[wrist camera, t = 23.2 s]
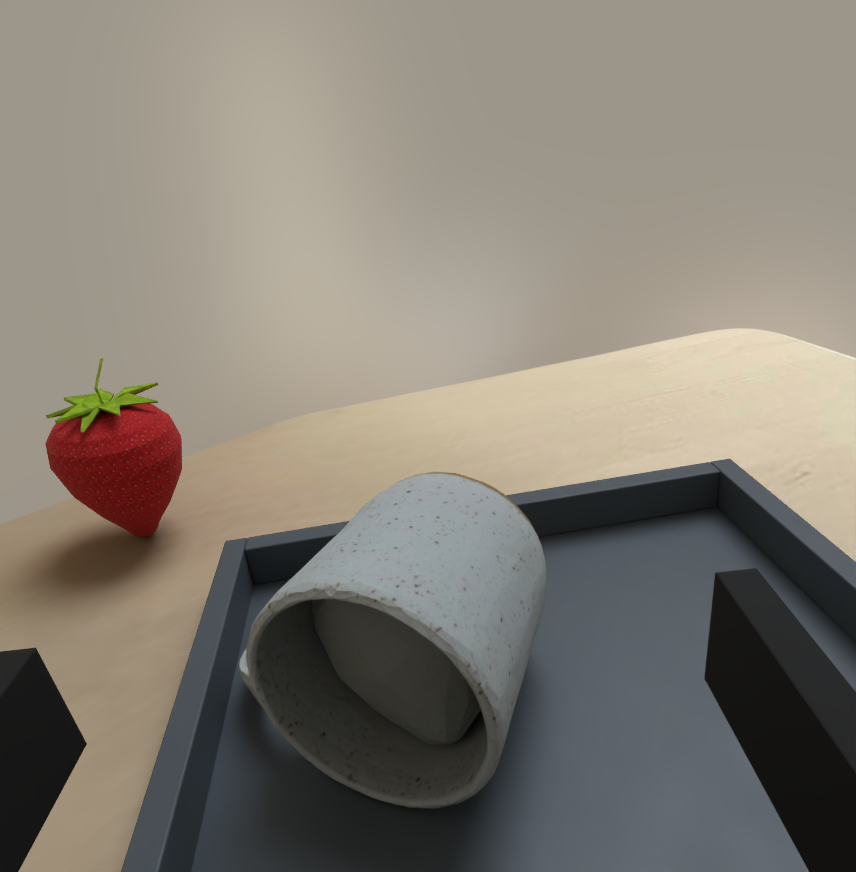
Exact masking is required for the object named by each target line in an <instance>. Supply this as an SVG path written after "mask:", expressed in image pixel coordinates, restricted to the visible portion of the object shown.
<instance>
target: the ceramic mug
mask: <svg viewBox="0 0 856 872" xmlns="http://www.w3.org/2000/svg"><path fill="white" fill-rule="evenodd" d="M545 587H546V561H545V557H544V553H543V549H542V545H541V543H540V540H539V537H538V535H537V533H536V532H535V530H534V528H533V526H532V524H531V523H530V521H529V520H528V518H527V517H526V516H525V515H524V514H523V512H522V511H521V510H520V509H519V508H518V507H517V506H516V505H515V504H514V503H513V502H512V501H511V500H510V499H509V498H508V497H507V496H505V495H504V494H503V493H501V492H500V491H498V490H497V489H495V488H494V487H492V486H490V485H488V484H486V483H484V482H481V481H478V480H475V479H472V478H470V477H467V476H464V475H460V474H456V473H443V472H431V473H425V474H419V475H415V476H412V477H409V478H407V479H404V480H401V481H399V482H398V483H396V484H394V485H393V486H391V487H389V488H388V489H386V490H384V491H382V492H381V493H379V494H378V495H377V496H376V497H374V498H373V499H372V500H371V501H369V502H368V503H367V504H366V505H365V506H363V507H362V508H361V509H360V510H359V511H358V513H357V514H356V515H355V516H354V517H353V518H352V519H351V520H350V521H349V523H348V524H347V525H346V526H345V527H344V528H343V529H342V530H341V531H340V532H339V533H338V534H337V535H336V536H335V537H334V538H333V539H332V540H331V541H330V542H329V543H328V544H327V545H326V546H325V547H323V548H322V549H321V550H320V551H319V552H318V553H317V554H316V555H315V556H314V557H313V558H312V559H311V560H310V561H309V562H308V563H307V564H306V565H305V566H304V567H303V568H302V569H301V570H300V571H299V572H298V573H296V574H295V575H294V576H293V577H292V578H291V579H290V580H289V581H288V582H287V583H286V584H285V585H284V586H283V587H282V588H281V589H280V590H279V591H278V592H276V593H275V595H274V596H273V597H272V598H271V600H270V601H269V602H268V603H267V604H266V606H265V607H264V608H263V609H262V611H261V612H260V613H259V614H258V616H257V617H256V619H255V621H254V622H253V624H252V627H251V631H250V635H249V639H248V643H247V648H246V650H245V651H244V653H243V655H242V657H241V659H240V661H239V669H240V673H241V677H242V680H243V681H244V682H245V684H246V685H247V687H248V688H249V690H250V691H251V693H252V694H253V696H254V697H255V699H256V700H257V701H258V703H259V704H260V705H261V706H262V707H263V709H264V710H265V712H266V714H267V715H268V717H269V718H270V720H271V722H272V723H273V725H274V726H275V727H276V728H277V729H278V731H279V732H280V733H281V734H282V735H283V737H284V738H285V739H286V740H287V741H288V742H289V743H290V744H291V745H292V746H293V747H294V748H296V750H297V751H298V752H299V753H300V754H301V755H302V756H303V757H304V758H306V759H307V760H308V761H310V762H311V763H312V764H313V765H314V766H316V767H317V768H318V769H319V770H320V771H322V772H323V773H325V774H326V775H328V776H329V777H331V778H332V779H334V780H336V781H338V782H340V783H341V784H343V785H345V786H347V787H349V788H351V789H353V790H355V791H358V792H360V793H362V794H365V795H367V796H369V797H372V798H374V799H377V800H380V801H384V802H387V803H391V804H394V805H401V806H406V807H409V808H433V809H437V808H441V807H445V806H450V805H454V804H459V803H461V802H463V801H465V800H467V799H468V798H470V797H472V796H474V795H475V794H476V793H478V792H479V791H480V790H481V789H482V788H483V787H484V786H485V785H486V784H487V782H488V781H489V780H490V778H491V777H492V776H493V774H494V773H495V770H496V768H497V765H498V763H499V760H500V758H501V754H502V751H503V747H504V744H505V740H506V737H507V733H508V729H509V726H510V722H511V718H512V714H513V711H514V708H515V704H516V701H517V698H518V695H519V691H520V688H521V685H522V682H523V678H524V674H525V670H526V666H527V662H528V658H529V654H530V650H531V647H532V643H533V640H534V637H535V634H536V632H537V629H538V626H539V623H540V619H541V615H542V611H543V606H544V601H545Z"/></svg>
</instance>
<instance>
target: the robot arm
mask: <svg viewBox="0 0 856 872" xmlns="http://www.w3.org/2000/svg"><path fill="white" fill-rule="evenodd" d="M704 679H705V681H706V683H707V684H708V686H709V688H710V690H711V692H712V694H713V696H714V697H715V699H716V701H717V703H718V705H719V707H720V708H721V710H722V712H723V714H724V716H725V718H726V720H727V721H728V723H729V725H730V727H731V729H732V731H733V732H734V734H735V736H736V738H737V740H738V742H739V743H740V745H741V747H742V749H743V751H744V753H745V755H746V756H747V758H748V760H749V762H750V764H751V766H752V767H753V769H754V771H755V773H756V775H757V777H758V779H759V780H760V782H761V784H762V786H763V788H764V790H765V791H766V793H767V795H768V797H769V799H770V801H771V802H772V804H773V806H774V808H775V810H776V812H777V814H778V815H779V817H780V819H781V821H782V823H783V825H784V826H785V828H786V830H787V832H788V834H789V836H790V838H791V839H792V841H793V843H794V845H795V847H796V849H797V850H798V852H799V854H800V856H801V858H802V860H803V862H804V863H805V865H806V867H807V869H808V871H809V872H856V692H855V690H854V689H853V688H852V687H851V685H850V684H849V683H848V682H847V680H846V679H845V678H844V677H843V675H842V674H841V673H840V672H839V670H838V669H837V668H836V667H835V665H834V664H833V663H832V662H831V660H830V659H829V658H828V657H827V655H826V654H825V653H824V652H823V651H822V649H821V648H820V647H819V646H818V644H817V643H816V642H815V641H814V639H813V638H812V637H811V636H810V634H809V633H808V632H807V631H806V629H805V628H804V627H803V626H802V624H801V623H800V622H799V621H798V619H797V618H796V617H795V616H794V614H793V613H792V612H791V611H790V609H789V608H788V607H787V606H786V604H785V603H784V602H783V601H782V599H781V598H780V597H779V596H778V594H777V593H776V592H775V591H774V589H773V588H772V587H771V586H770V584H769V583H768V582H767V581H766V580H765V578H764V577H763V576H762V575H761V573H760V572H759V571H758V570H757V568H752V569H743V570H734V571H725V572H716V573H715V579H714V589H713V599H712V608H711V618H710V628H709V638H708V647H707V657H706V667H705V677H704ZM86 744H87V743H86V742H85V740H84V738H83V736H82V734H81V732H80V730H79V728H78V726H77V725H76V723H75V721H74V719H73V717H72V715H71V713H70V711H69V709H68V708H67V706H66V704H65V702H64V700H63V698H62V696H61V694H60V693H59V691H58V689H57V687H56V685H55V683H54V681H53V679H52V677H51V676H50V674H49V672H48V670H47V668H46V666H45V664H44V662H43V660H42V659H41V657H40V655H39V653H38V651H37V649H36V648H30V649H21V650H12V651H3V652H0V872H18V871H19V869H20V867H21V865H22V864H23V862H24V860H25V858H26V856H27V854H28V852H29V851H30V849H31V847H32V845H33V843H34V841H35V839H36V837H37V836H38V834H39V832H40V830H41V828H42V826H43V824H44V823H45V821H46V819H47V817H48V815H49V813H50V811H51V810H52V808H53V806H54V804H55V802H56V800H57V798H58V796H59V795H60V793H61V791H62V789H63V787H64V785H65V783H66V782H67V780H68V778H69V776H70V774H71V772H72V770H73V768H74V767H75V765H76V763H77V761H78V759H79V757H80V755H81V754H82V752H83V750H84V748H85V746H86Z"/></svg>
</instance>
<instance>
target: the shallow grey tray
mask: <svg viewBox="0 0 856 872" xmlns="http://www.w3.org/2000/svg"><path fill="white" fill-rule="evenodd" d="M506 496H507V497H508V498H509V499H510V500H511V501H512V502H513V503H514V504H515V505H516V506H517V507H518V508H519V509H520V510H521V511H522V512H523V514H524V515H525V516H526V517H527V518H528V520H529V521H530V523H531V524H532V526H533V528H534V530H535V532H536V533H537V535H538V537H539V540H540V543H541V545H542V549H543V553H544V557H545V561H546V587H545V601H544V606H543V611H542V615H541V619H540V623H539V626H538V629H537V632H536V634H535V637H534V640H533V643H532V647H531V650H530V654H529V658H528V662H527V666H526V670H525V674H524V678H523V682H522V685H521V688H520V691H519V695H518V698H517V701H516V704H515V708H514V711H513V714H512V718H511V722H510V726H509V729H508V733H507V737H506V740H505V744H504V747H503V751H502V754H501V758H500V760H499V763H498V765H497V768H496V770H495V773H494V774H493V776H492V777H491V778H490V780H489V781H488V782H487V784H486V785H485V786H484V787H483V788H482V789H481V790H480V791H479V792H478V793H476V794H475V795H474V796H472V797H470V798H468V799H467V800H465V801H463V802H461V803H459V804H454V805H450V806H445V807H441V808H437V809H433V808H409V807H406V806H401V805H394V804H391V803H387V802H384V801H380V800H377V799H374V798H372V797H369V796H367V795H365V794H362V793H360V792H358V791H355V790H353V789H351V788H349V787H347V786H345V785H343V784H341V783H340V782H338V781H336V780H334V779H332V778H331V777H329V776H328V775H326V774H325V773H323V772H322V771H320V770H319V769H318V768H317V767H316V766H314V765H313V764H312V763H311V762H310V761H308V760H307V759H306V758H304V757H303V756H302V755H301V754H300V753H299V752H298V751H297V750H296V748H294V747H293V746H292V745H291V744H290V743H289V742H288V741H287V740H286V739H285V738H284V737H283V735H282V734H281V733H280V732H279V731H278V729H277V728H276V727H275V726H274V725H273V723H272V722H271V720H270V718H269V717H268V715H267V714H266V712H265V710H264V709H263V707H262V706H261V705H260V704H259V703H258V701H257V700H256V699H255V697H254V696H253V694H252V693H251V691H250V690H249V688H248V687H247V685H246V684H245V682H244V681H243V680H242V677H241V673H240V669H239V661H240V659H241V657H242V655H243V653H244V651H245V650H246V648H247V643H248V639H249V635H250V631H251V627H252V624H253V622H254V621H255V619H256V617H257V616H258V614H259V613H260V612H261V611H262V609H263V608H264V607H265V606H266V604H267V603H268V602H269V601H270V600H271V598H272V597H273V596H274V595H275V593H276V592H278V591H279V590H280V589H281V588H282V587H283V586H284V585H285V584H286V583H287V582H288V581H289V580H290V579H291V578H292V577H293V576H294V575H295V574H296V573H298V572H299V571H300V570H301V569H302V568H303V567H304V566H305V565H306V564H307V563H308V562H309V561H310V560H311V559H312V558H313V557H314V556H315V555H316V554H317V553H318V552H319V551H320V550H321V549H322V548H323V547H325V546H326V545H327V544H328V543H329V542H330V541H331V540H332V539H333V538H334V537H335V536H336V535H337V534H338V533H339V532H340V531H341V530H342V529H343V528H344V527H345V526H346V525H347V524H348V523H349V521H347V522H341V523H335V524H329V525H322V526H316V527H310V528H304V529H298V530H292V531H286V532H280V533H274V534H267V535H261V536H255V537H249V538H247V539H246V538H242V539H236V540H230V541H226V542H225V545H224V548H223V551H222V554H221V557H220V560H219V564H218V567H217V570H216V573H215V576H214V579H213V583H212V586H211V589H210V592H209V595H208V598H207V601H206V605H205V608H204V611H203V614H202V617H201V620H200V624H199V627H198V630H197V633H196V636H195V639H194V643H193V646H192V649H191V652H190V655H189V658H188V662H187V665H186V668H185V671H184V674H183V677H182V681H181V684H180V687H179V690H178V693H177V696H176V700H175V703H174V706H173V709H172V712H171V715H170V719H169V722H168V725H167V728H166V731H165V734H164V737H163V741H162V744H161V747H160V750H159V753H158V756H157V760H156V763H155V766H154V769H153V772H152V775H151V779H150V782H149V785H148V788H147V791H146V794H145V798H144V801H143V804H142V807H141V810H140V813H139V817H138V820H137V823H136V826H135V829H134V832H133V836H132V839H131V842H130V845H129V848H128V851H127V855H126V858H125V861H124V864H123V867H122V870H121V872H809V871H808V869H807V867H806V865H805V863H804V862H803V860H802V858H801V856H800V854H799V852H798V850H797V849H796V847H795V845H794V843H793V841H792V839H791V838H790V836H789V834H788V832H787V830H786V828H785V826H784V825H783V823H782V821H781V819H780V817H779V815H778V814H777V812H776V810H775V808H774V806H773V804H772V802H771V801H770V799H769V797H768V795H767V793H766V791H765V790H764V788H763V786H762V784H761V782H760V780H759V779H758V777H757V775H756V773H755V771H754V769H753V767H752V766H751V764H750V762H749V760H748V758H747V756H746V755H745V753H744V751H743V749H742V747H741V745H740V743H739V742H738V740H737V738H736V736H735V734H734V732H733V731H732V729H731V727H730V725H729V723H728V721H727V720H726V718H725V716H724V714H723V712H722V710H721V708H720V707H719V705H718V703H717V701H716V699H715V697H714V696H713V694H712V692H711V690H710V688H709V686H708V684H707V683H706V681H705V679H704V677H705V667H706V657H707V647H708V638H709V628H710V618H711V608H712V599H713V589H714V579H715V573H716V572H725V571H734V570H743V569H752V568H757V570H758V571H759V572H760V573H761V575H762V576H763V577H764V578H765V580H766V581H767V582H768V583H769V584H770V586H771V587H772V588H773V589H774V591H775V592H776V593H777V594H778V596H779V597H780V598H781V599H782V601H783V602H784V603H785V604H786V606H787V607H788V608H789V609H790V611H791V612H792V613H793V614H794V616H795V617H796V618H797V619H798V621H799V622H800V623H801V624H802V626H803V627H804V628H805V629H806V631H807V632H808V633H809V634H810V636H811V637H812V638H813V639H814V641H815V642H816V643H817V644H818V646H819V647H820V648H821V649H822V651H823V652H824V653H825V654H826V655H827V657H828V658H829V659H830V660H831V662H832V663H833V664H834V665H835V667H836V668H837V669H838V670H839V672H840V673H841V674H842V675H843V677H844V678H845V679H846V680H847V682H848V683H849V684H850V685H851V687H852V688H853V689H854V690H855V692H856V562H855V561H854V560H853V559H851V558H850V557H849V556H848V555H846V554H845V553H844V552H843V551H842V550H840V549H839V548H838V547H837V546H835V545H834V544H833V543H832V542H831V541H829V540H828V539H827V538H826V537H825V536H823V535H822V534H821V533H820V532H818V531H817V530H816V529H815V528H814V527H812V526H811V525H810V524H809V523H807V522H806V521H805V520H804V519H803V518H801V517H800V516H799V515H798V514H797V513H795V512H794V511H793V510H792V509H790V508H789V507H788V506H787V505H786V504H784V503H783V502H782V501H781V500H779V499H778V498H777V497H776V496H775V495H773V494H772V493H771V492H770V491H769V490H767V489H766V488H765V487H764V486H762V485H761V484H760V483H759V482H758V481H756V480H755V479H754V478H753V477H751V476H750V475H749V474H748V473H747V472H745V471H744V470H743V469H742V468H741V467H739V466H738V465H737V464H736V463H734V462H733V461H732V460H731V459H725V460H719V461H713V462H711V463H709V462H707V463H701V464H695V465H689V466H683V467H677V468H671V469H665V470H658V471H652V472H646V473H640V474H634V475H628V476H622V477H616V478H610V479H603V480H597V481H591V482H585V483H579V484H573V485H567V486H561V487H555V488H548V489H542V490H536V491H530V492H524V493H518V494H512V495H506Z"/></svg>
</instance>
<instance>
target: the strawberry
mask: <svg viewBox="0 0 856 872" xmlns="http://www.w3.org/2000/svg"><path fill="white" fill-rule="evenodd" d="M102 361H103V358H101V359H100V364H99V369H98V374H97V378H96V383H95V391H96V392H95V393H93V394H89V395H80V396H73V397H65V398H64V400H65V401H67V402H69V403H71V404H73V405H74V406H71V407H68V408H66V409H63V410H60V411H58V412H54V413H52V414H49V415H46V416H47V418H51V417H56V416H61V417H60V418H58V419H57V420H55V422H56V424H55V425H54V427H53V429H52V430H51V433H50V435H49V437H48V439H47V442H46V448H47V453H48V459H49V464H50V468H51V470H52V471H53V472H54V473H55V474H56V476H57V477H58V478H59V479H60V481H61V482H62V483H63V484H64V486H65V487H66V488H67V489H68V490H69V492H70V493H71V494H72V495H73V496H74V497H75V498H76V499H77V500H79V501H80V502H82V503H83V504H85V505H86V506H87V507H89V508H90V509H92V510H93V511H95V512H96V513H97V514H99V515H100V516H102V517H103V518H105V519H107V520H109V521H111V522H113V523H114V524H116V525H118V526H120V527H122V528H124V529H125V530H127V531H128V532H129V533H131V534H133V535H135V536H138V537H147V536H150V535H151V534H153V533H154V532H155V531H156V529H157V527H158V525H159V521H160V519H161V517H162V515H163V513H164V512H165V510H166V508H167V506H168V505H169V503H170V501H171V498H172V496H173V493H174V490H175V487H176V484H177V482H178V479H179V476H180V473H181V470H182V447H181V435H180V433H179V432H178V430H177V428H176V426H175V424H174V423H173V421H172V419H171V417H170V416H169V415H168V414H167V413H165V412H164V411H162V410H160V409H159V408H157V407H155V406H154V405H152V404H150V403H158V402H157V401H155V400H151V399H148V398H144V397H141V396H137V395H136V394H138V393H140V392H143V391H145V390H147V389H149V388H152V387H154V386H156V385H158V383H152V384H146V385H139V386H133V387H127V388H123V389H122V390H121V391H120V392H119V393H118V394H117V395H116V396H115V397H114V398H113V396H114V394H112V393H110V392H107V391H105V390H102V389H100V390H98V389H97V386H98V380H99V376H100V371H101V366H102ZM112 398H113V399H112ZM111 399H112V400H111Z"/></svg>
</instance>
